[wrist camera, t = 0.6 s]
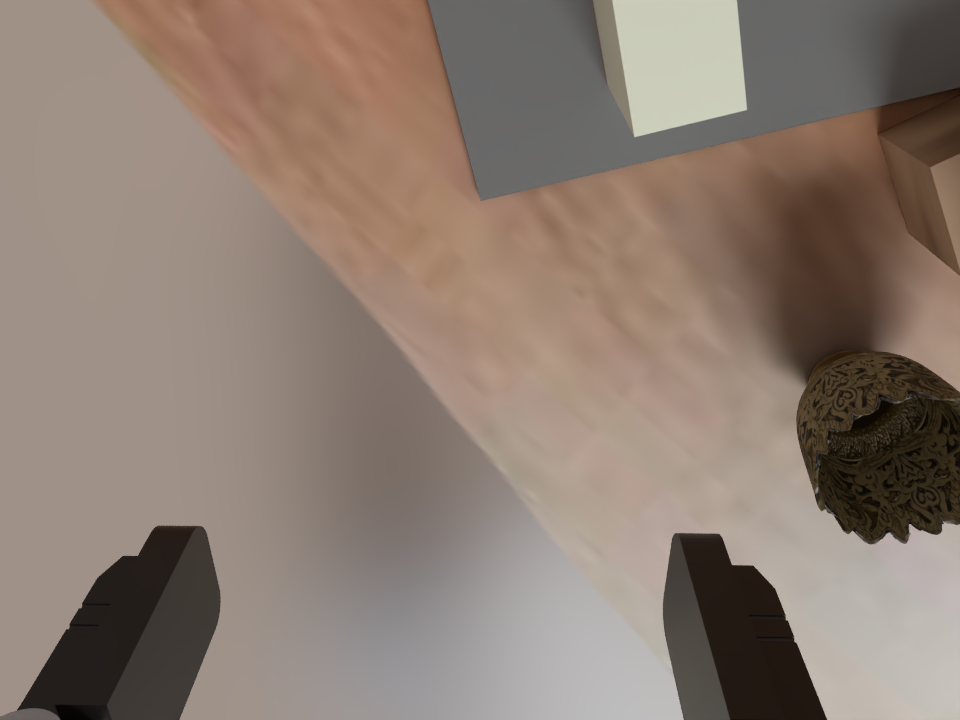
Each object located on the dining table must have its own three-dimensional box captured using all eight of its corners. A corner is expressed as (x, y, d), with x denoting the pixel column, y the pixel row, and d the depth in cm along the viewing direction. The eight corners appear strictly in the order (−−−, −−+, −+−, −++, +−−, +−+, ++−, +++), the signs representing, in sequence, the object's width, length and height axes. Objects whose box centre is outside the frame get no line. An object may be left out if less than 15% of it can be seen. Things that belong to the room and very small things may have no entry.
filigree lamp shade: (734, 369, 40) (781, 468, 33) (870, 278, 37) (953, 365, 30) (814, 462, 42) (874, 572, 35) (947, 383, 39) (1040, 485, 33)
